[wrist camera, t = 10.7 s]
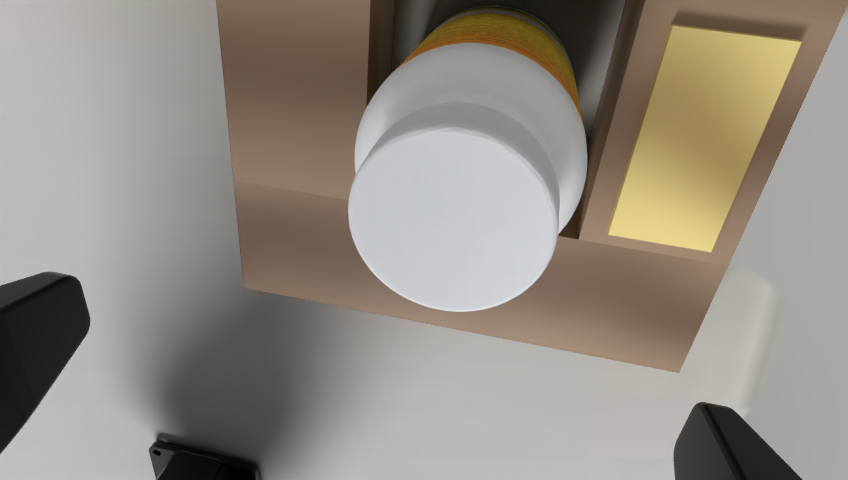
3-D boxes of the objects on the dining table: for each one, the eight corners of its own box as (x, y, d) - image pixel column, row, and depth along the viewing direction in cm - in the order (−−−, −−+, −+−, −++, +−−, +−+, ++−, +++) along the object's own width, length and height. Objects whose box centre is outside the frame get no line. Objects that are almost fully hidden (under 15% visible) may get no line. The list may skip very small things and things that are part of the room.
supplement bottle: (401, 13, 18) (276, 95, 9) (573, -8, 17) (604, 65, 8) (423, 168, 20) (341, 340, 12) (574, 160, 19) (597, 344, 11)
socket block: (662, 319, 22) (680, 378, 19) (276, 247, 23) (240, 292, 21) (873, -195, 13) (961, -225, 10) (249, -245, 15) (181, -281, 12)
